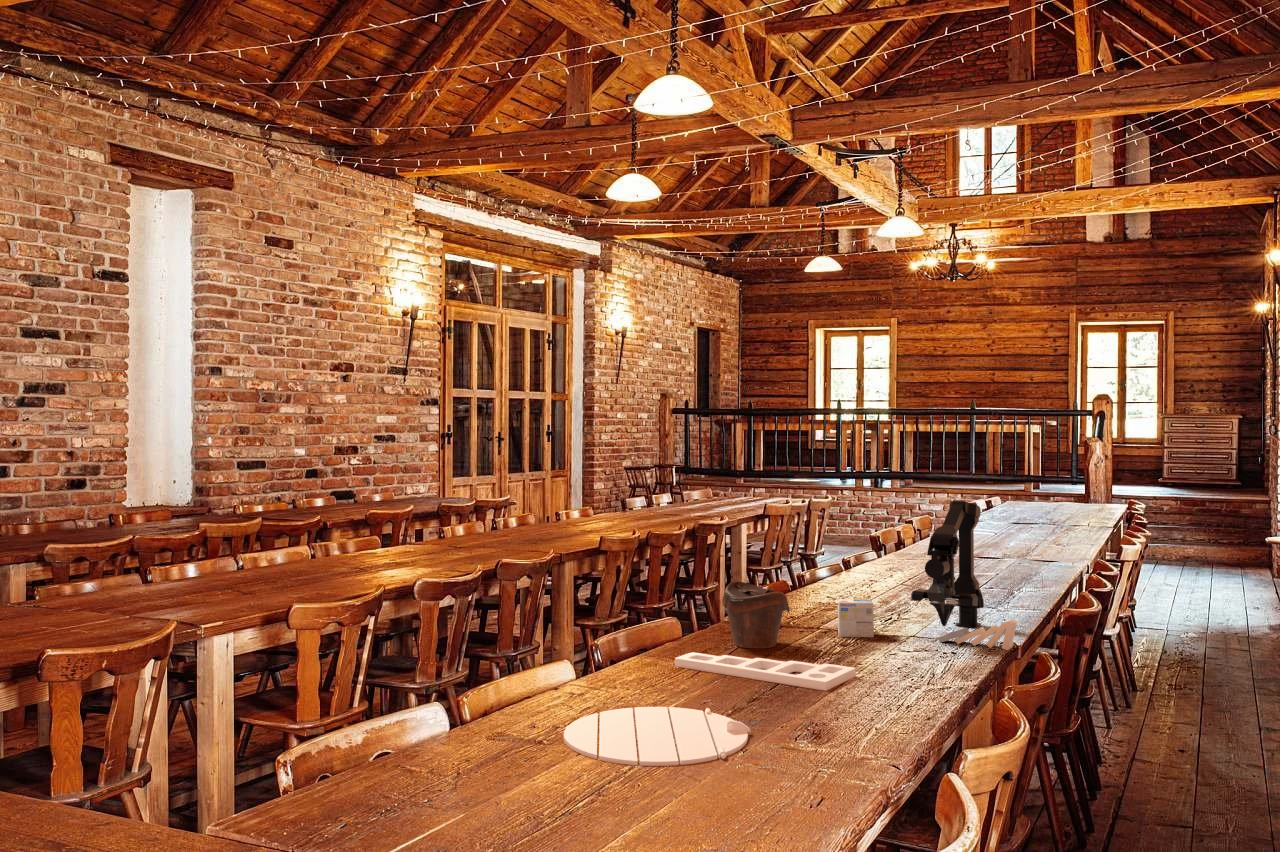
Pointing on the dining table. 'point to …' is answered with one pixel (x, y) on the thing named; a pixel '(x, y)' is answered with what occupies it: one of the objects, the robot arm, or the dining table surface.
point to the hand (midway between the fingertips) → (944, 625)
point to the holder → (770, 670)
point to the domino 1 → (953, 635)
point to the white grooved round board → (656, 736)
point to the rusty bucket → (754, 614)
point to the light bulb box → (855, 618)
